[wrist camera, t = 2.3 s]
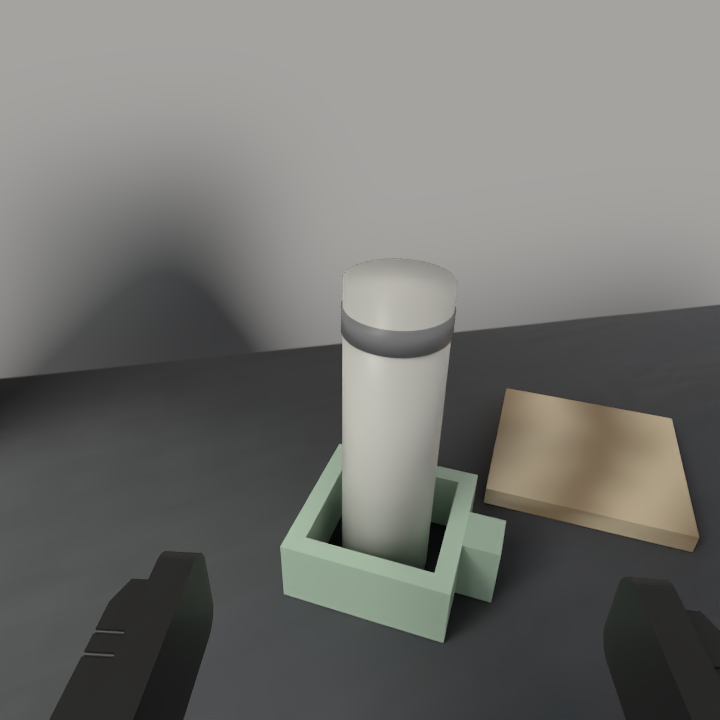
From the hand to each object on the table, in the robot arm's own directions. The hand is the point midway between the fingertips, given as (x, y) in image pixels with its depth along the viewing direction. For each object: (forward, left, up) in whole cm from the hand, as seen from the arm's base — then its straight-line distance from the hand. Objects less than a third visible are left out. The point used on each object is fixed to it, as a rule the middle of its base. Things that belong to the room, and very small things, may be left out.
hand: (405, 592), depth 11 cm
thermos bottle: (-3, +11, -12) cm, 17 cm away
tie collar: (-3, +11, -12) cm, 17 cm away
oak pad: (+6, +21, -12) cm, 25 cm away
